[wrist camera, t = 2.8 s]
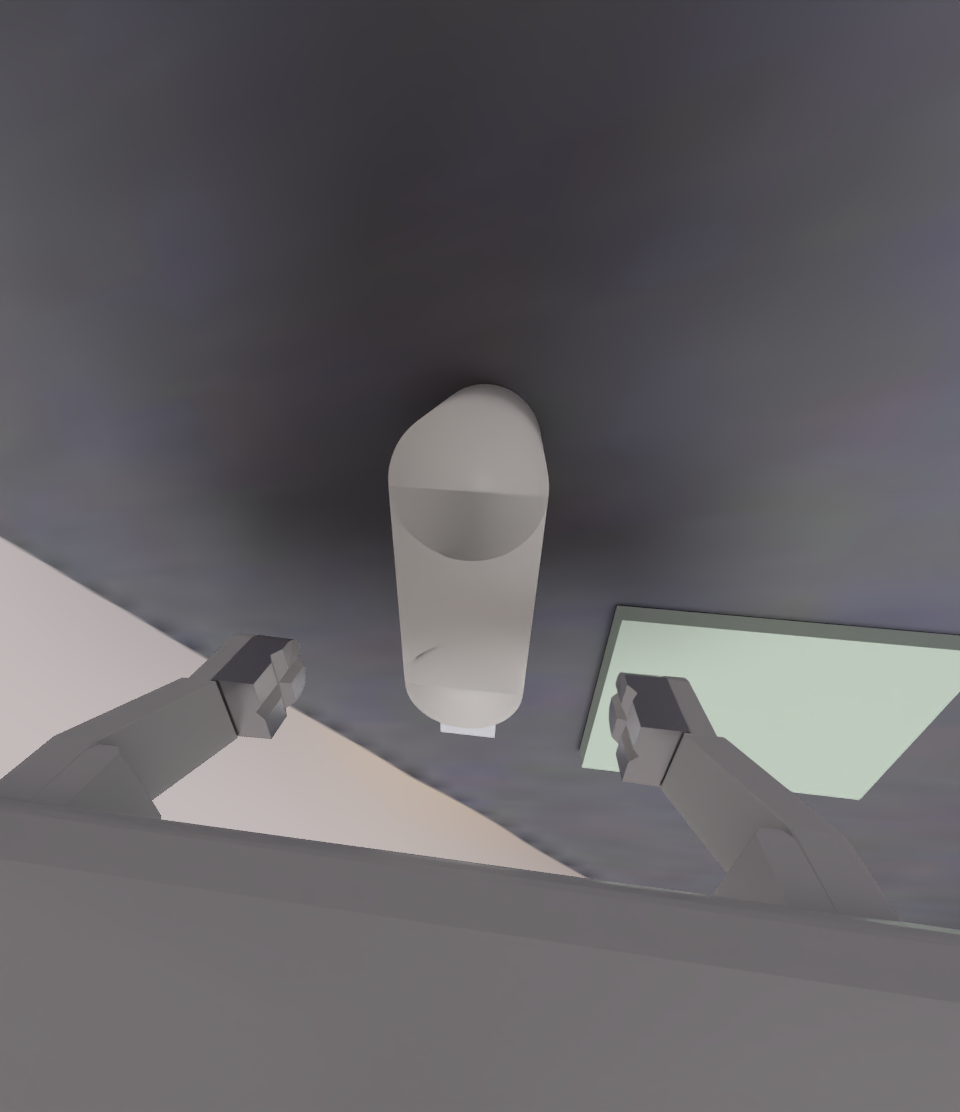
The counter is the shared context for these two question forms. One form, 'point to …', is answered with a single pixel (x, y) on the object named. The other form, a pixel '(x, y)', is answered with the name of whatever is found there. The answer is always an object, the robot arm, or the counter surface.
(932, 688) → the green mat
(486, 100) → the counter surface
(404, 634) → the connector
